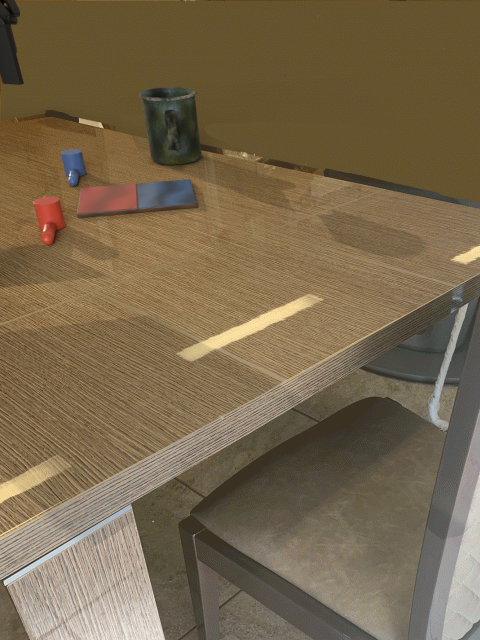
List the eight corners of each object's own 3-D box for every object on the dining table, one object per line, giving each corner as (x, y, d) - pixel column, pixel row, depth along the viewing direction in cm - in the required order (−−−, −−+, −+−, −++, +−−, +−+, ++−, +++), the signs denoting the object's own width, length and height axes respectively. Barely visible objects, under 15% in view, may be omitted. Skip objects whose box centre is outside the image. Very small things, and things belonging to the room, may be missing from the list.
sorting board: (77, 218, 102) (76, 213, 101) (81, 191, 112) (80, 187, 112) (197, 207, 105) (197, 203, 105) (190, 182, 116) (190, 178, 116)
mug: (202, 149, 134) (195, 85, 126) (206, 169, 122) (198, 100, 115) (149, 152, 132) (138, 88, 125) (148, 173, 121) (136, 103, 113)
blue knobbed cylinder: (84, 186, 115) (79, 163, 112) (62, 188, 114) (56, 164, 111) (87, 170, 122) (82, 148, 120) (66, 172, 122) (61, 149, 119)
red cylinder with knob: (62, 245, 93) (54, 217, 90) (34, 247, 92) (26, 220, 89) (66, 221, 100) (60, 195, 98) (41, 223, 100) (34, 197, 97)
